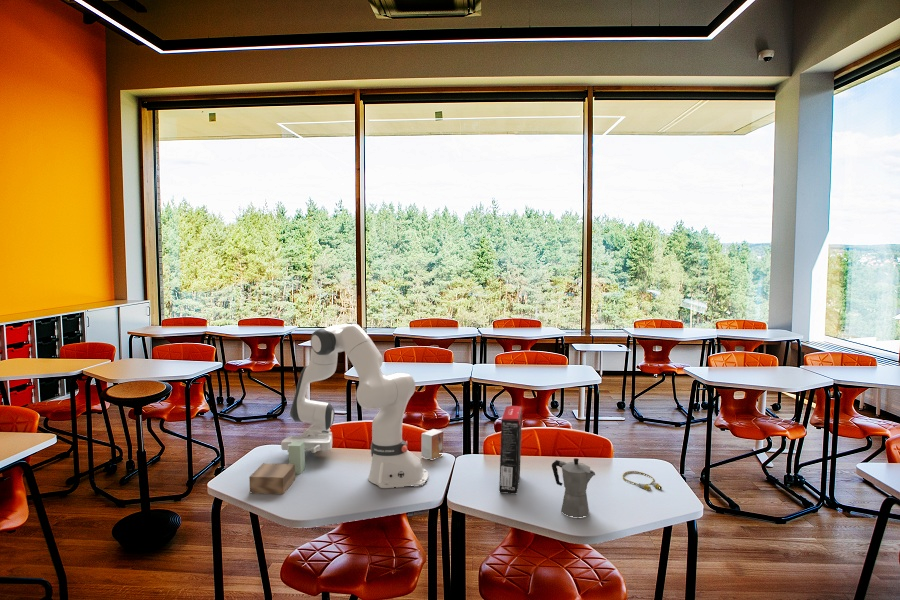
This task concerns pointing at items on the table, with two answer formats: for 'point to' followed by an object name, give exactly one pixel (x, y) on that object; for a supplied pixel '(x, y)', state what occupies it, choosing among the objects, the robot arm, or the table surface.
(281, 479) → the walnut block
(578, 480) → the coffeepot
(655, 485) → the extension cord
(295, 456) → the sage block
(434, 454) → the small box
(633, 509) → the table surface
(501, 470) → the graphics card box
